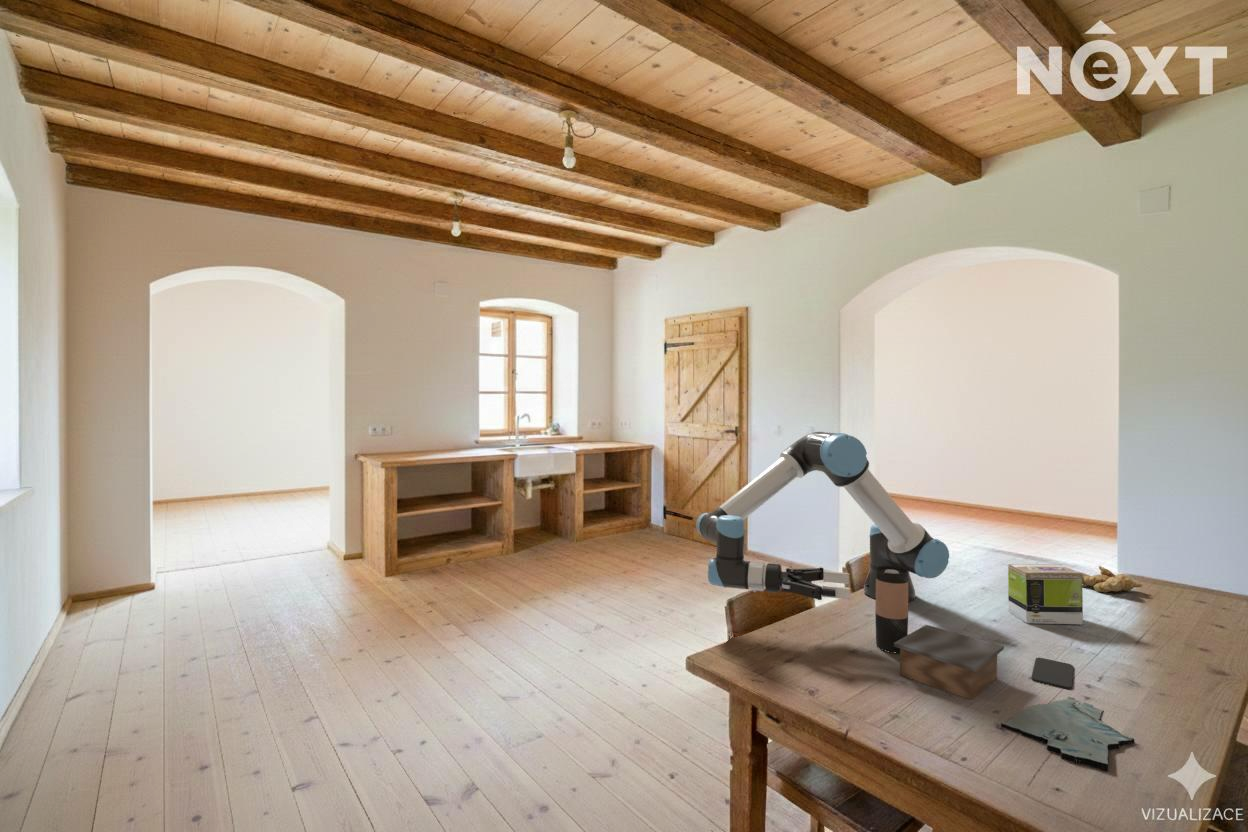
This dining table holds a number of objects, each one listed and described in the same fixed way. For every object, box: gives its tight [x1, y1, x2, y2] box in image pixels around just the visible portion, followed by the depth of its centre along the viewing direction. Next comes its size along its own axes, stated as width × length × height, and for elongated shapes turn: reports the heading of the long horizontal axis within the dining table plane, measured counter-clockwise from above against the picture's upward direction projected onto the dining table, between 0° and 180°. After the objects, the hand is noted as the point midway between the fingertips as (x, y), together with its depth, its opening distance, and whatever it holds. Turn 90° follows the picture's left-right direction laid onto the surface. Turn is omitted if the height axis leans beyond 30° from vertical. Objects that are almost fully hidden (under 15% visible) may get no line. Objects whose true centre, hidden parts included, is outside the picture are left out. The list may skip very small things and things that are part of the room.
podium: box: [894, 624, 1005, 700], centre depth 137 cm, size 17×17×7 cm
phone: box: [1031, 657, 1074, 690], centre depth 139 cm, size 7×1×15 cm
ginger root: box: [1078, 565, 1143, 594], centre depth 198 cm, size 16×16×8 cm
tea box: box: [1007, 563, 1084, 626], centre depth 173 cm, size 15×10×15 cm
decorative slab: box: [1000, 696, 1135, 773], centre depth 115 cm, size 26×24×2 cm
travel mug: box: [874, 566, 909, 654], centre depth 153 cm, size 8×8×20 cm
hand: (849, 586), depth 156 cm, fingers open, 13 cm apart
